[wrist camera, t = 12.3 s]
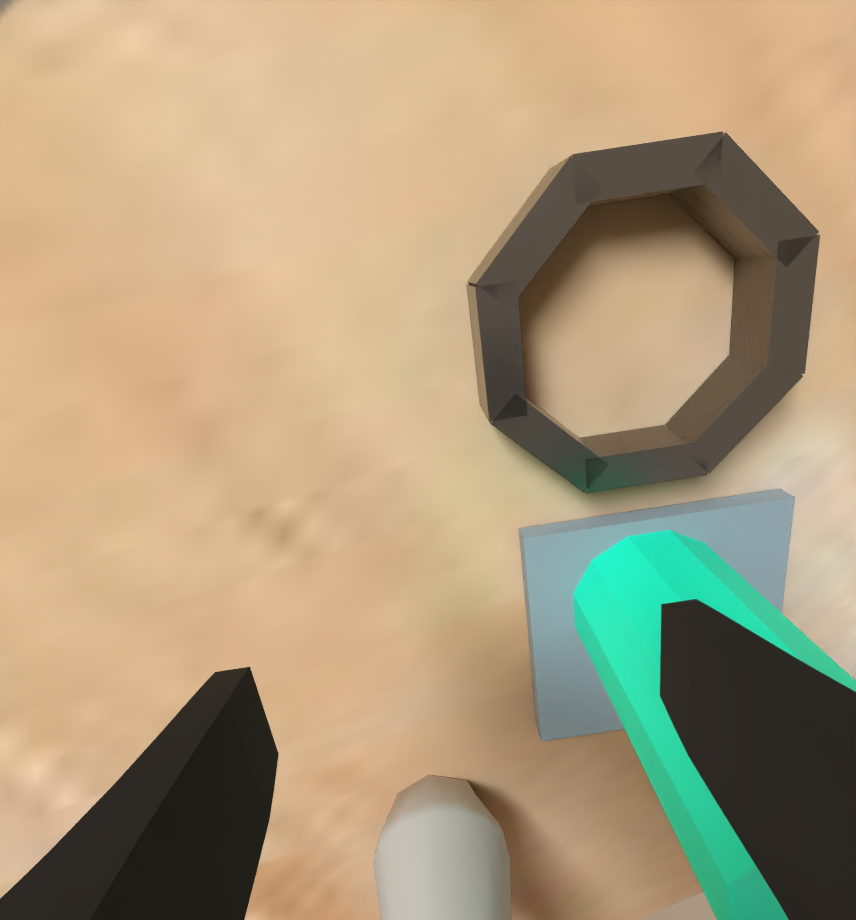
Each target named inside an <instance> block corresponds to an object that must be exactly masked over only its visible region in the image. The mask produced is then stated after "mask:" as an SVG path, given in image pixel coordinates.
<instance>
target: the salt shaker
mask: <svg viewBox="0 0 856 920" xmlns="http://www.w3.org/2000/svg"><path fill="white" fill-rule="evenodd" d="M373 865H374V872H375V879H376V887H377V894H378V901H379V908H380V915H381V920H511V879H510V856H509V852H508V848H507V844H506V840H505V837H504V834H503V831H502V828H501V826H500V824H499V823H498V822H497V821H496V819H495V818H494V817H493V816H492V814H491V813H490V812H489V811H488V809H487V808H486V807H485V806H484V804H483V803H482V802H481V800H480V799H479V798H478V797H477V795H476V794H475V793H474V791H473V790H472V788H471V786H470V785H469V783H468V781H467V780H462V779H454V778H447V777H440V776H433V775H428V776H426V777H425V778H423V779H421V780H420V781H418V782H416V783H415V784H413V785H412V786H410V787H408V788H407V789H405V790H403V791H402V792H400V793H398V794H397V797H396V799H395V801H394V804H393V806H392V808H391V810H390V813H389V815H388V817H387V819H386V822H385V824H384V826H383V829H382V831H381V834H380V838H379V841H378V844H377V848H376V852H375V857H374V863H373Z"/></svg>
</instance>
